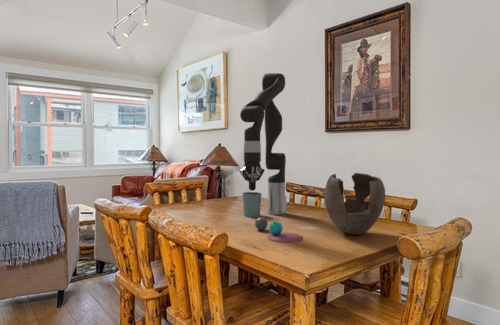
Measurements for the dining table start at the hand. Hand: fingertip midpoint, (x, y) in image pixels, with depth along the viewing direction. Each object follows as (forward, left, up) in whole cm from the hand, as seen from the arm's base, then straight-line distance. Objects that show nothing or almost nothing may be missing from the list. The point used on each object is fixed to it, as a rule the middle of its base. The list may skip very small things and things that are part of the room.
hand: (252, 190), depth 151 cm
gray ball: (-1, +6, -14) cm, 15 cm away
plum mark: (0, +21, -17) cm, 27 cm away
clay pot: (-26, +35, -17) cm, 47 cm away
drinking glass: (-18, -23, -17) cm, 34 cm away
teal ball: (0, +16, -14) cm, 21 cm away
